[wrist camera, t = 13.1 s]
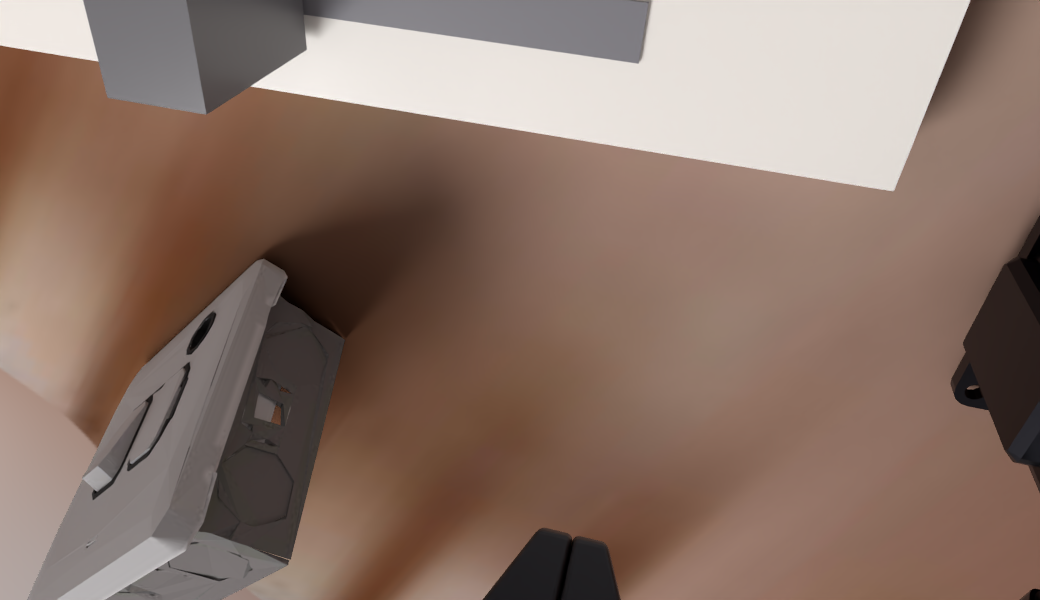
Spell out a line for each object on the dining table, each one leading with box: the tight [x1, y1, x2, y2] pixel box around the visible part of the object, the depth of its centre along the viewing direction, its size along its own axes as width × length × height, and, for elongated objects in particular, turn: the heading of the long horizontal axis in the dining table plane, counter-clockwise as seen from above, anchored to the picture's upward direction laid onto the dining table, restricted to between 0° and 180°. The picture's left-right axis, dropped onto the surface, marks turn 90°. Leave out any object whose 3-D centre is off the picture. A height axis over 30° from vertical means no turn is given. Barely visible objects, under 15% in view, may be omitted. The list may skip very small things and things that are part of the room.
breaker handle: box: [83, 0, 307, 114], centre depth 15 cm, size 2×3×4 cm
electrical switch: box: [27, 259, 345, 600], centre depth 23 cm, size 9×5×9 cm, turn 134°
